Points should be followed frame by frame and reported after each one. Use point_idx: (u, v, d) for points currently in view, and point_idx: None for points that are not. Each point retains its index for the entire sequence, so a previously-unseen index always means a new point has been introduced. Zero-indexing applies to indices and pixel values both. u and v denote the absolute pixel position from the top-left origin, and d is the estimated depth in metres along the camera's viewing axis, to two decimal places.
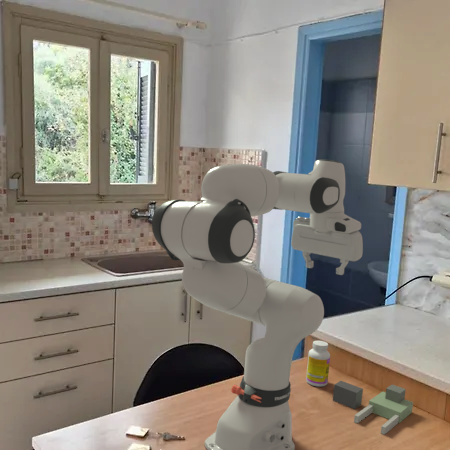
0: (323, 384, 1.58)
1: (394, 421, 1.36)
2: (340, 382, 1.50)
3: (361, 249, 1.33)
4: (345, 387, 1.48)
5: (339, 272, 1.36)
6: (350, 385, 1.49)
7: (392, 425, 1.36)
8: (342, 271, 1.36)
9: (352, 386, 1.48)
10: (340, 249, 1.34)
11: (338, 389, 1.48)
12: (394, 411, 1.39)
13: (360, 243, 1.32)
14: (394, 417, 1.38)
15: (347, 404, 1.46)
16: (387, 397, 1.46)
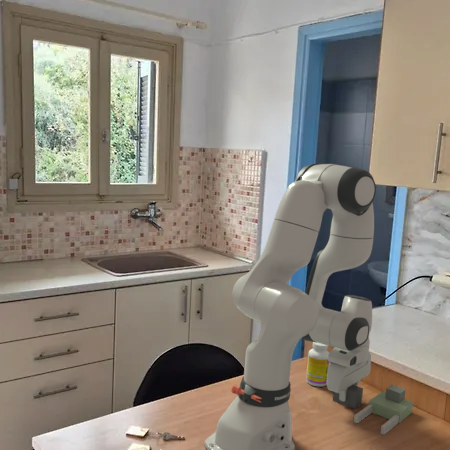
0: (323, 384, 1.58)
1: (394, 421, 1.36)
2: None
3: (337, 383, 1.39)
4: None
5: None
6: None
7: (392, 425, 1.36)
8: (342, 397, 1.46)
9: (352, 386, 1.48)
10: None
11: None
12: (394, 411, 1.39)
13: (336, 377, 1.39)
14: (394, 417, 1.38)
15: (347, 404, 1.46)
16: (387, 397, 1.46)
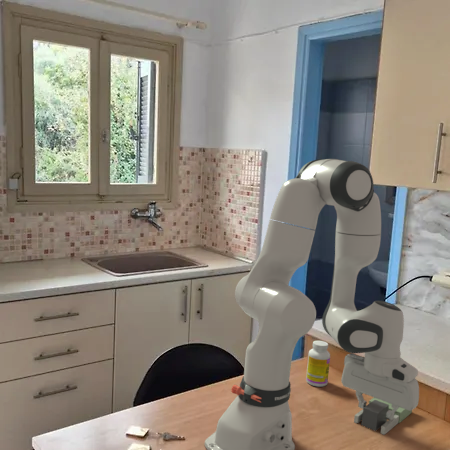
0: (323, 384, 1.58)
1: (394, 421, 1.36)
2: (368, 409, 1.35)
3: (418, 398, 1.31)
4: (378, 408, 1.36)
5: (390, 417, 1.34)
6: (372, 404, 1.38)
7: (392, 425, 1.36)
8: (392, 416, 1.34)
9: (374, 404, 1.38)
10: (396, 396, 1.31)
11: (379, 414, 1.34)
12: None
13: (417, 392, 1.30)
14: (394, 417, 1.38)
15: (383, 423, 1.37)
16: None
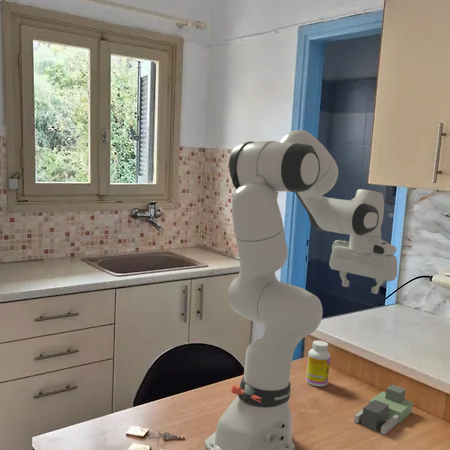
0: (323, 384, 1.58)
1: (394, 421, 1.36)
2: (368, 408, 1.35)
3: (396, 271, 1.48)
4: (378, 408, 1.36)
5: (374, 291, 1.50)
6: (372, 404, 1.38)
7: (392, 425, 1.36)
8: (377, 290, 1.50)
9: (374, 404, 1.38)
10: (377, 270, 1.48)
11: (379, 414, 1.34)
12: (394, 411, 1.39)
13: (395, 265, 1.47)
14: (394, 417, 1.38)
15: (383, 423, 1.37)
16: (387, 397, 1.46)
